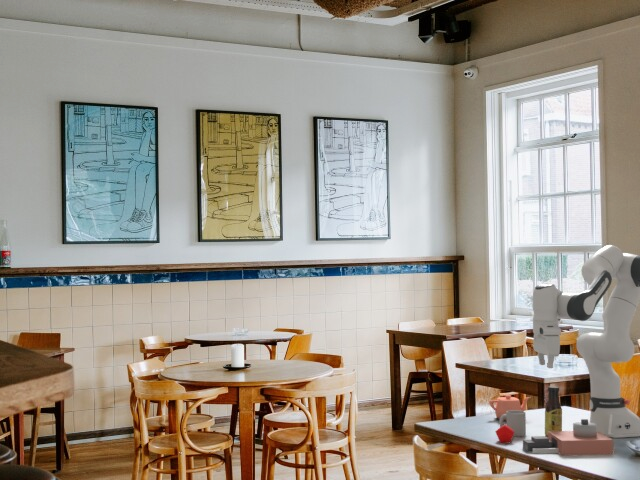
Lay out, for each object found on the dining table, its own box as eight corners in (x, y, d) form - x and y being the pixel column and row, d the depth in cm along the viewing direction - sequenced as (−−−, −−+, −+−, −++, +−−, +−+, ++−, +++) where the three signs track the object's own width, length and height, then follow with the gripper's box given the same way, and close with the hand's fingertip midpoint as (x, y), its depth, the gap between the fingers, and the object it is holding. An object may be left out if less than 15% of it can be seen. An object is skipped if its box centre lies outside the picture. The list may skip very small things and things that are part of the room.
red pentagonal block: (511, 430, 301) (512, 418, 309) (493, 432, 304) (494, 421, 311) (516, 446, 303) (517, 434, 310) (498, 448, 305) (499, 436, 313)
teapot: (486, 417, 357) (486, 393, 357) (527, 416, 357) (527, 392, 357) (492, 422, 345) (492, 397, 345) (535, 421, 345) (534, 396, 346)
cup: (525, 437, 314) (525, 414, 314) (499, 436, 317) (498, 413, 317) (526, 433, 321) (525, 410, 321) (500, 432, 324) (499, 409, 324)
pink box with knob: (596, 444, 301) (595, 415, 301) (613, 454, 285) (612, 423, 285) (523, 445, 300) (523, 416, 300) (536, 455, 284) (535, 424, 284)
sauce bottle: (553, 442, 305) (552, 388, 306) (541, 439, 311) (540, 386, 311) (566, 440, 308) (565, 387, 309) (554, 437, 314) (553, 385, 314)
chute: (527, 452, 290) (527, 439, 290) (523, 449, 295) (522, 436, 295) (552, 452, 290) (552, 438, 290) (547, 448, 295) (547, 435, 295)
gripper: (528, 326, 309) (529, 363, 308) (545, 330, 288) (545, 370, 288) (545, 326, 309) (546, 363, 309) (562, 330, 288) (563, 369, 288)
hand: (546, 366), depth 298 cm, fingers open, 8 cm apart
